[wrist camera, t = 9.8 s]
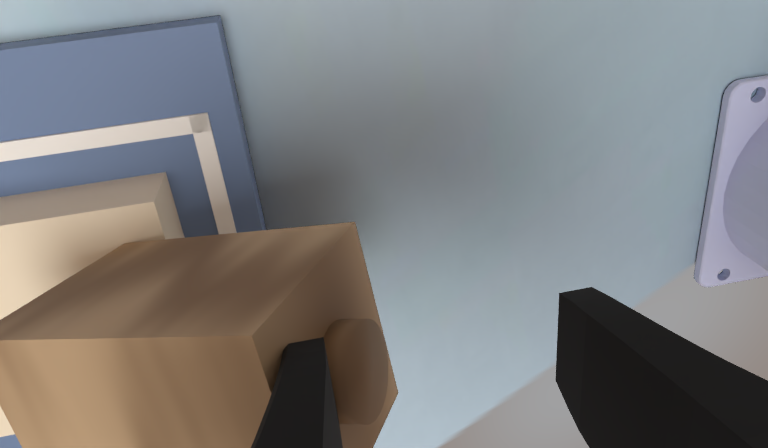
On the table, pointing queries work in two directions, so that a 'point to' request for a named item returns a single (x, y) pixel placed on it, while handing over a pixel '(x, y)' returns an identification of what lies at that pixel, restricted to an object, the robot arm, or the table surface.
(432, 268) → the table surface
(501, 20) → the table surface
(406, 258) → the table surface
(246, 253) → the oak block
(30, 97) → the blueprint board
